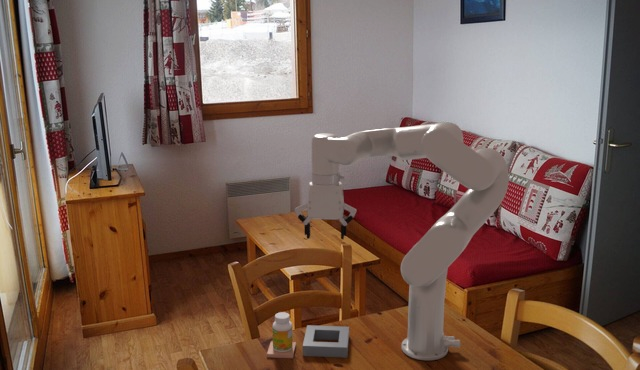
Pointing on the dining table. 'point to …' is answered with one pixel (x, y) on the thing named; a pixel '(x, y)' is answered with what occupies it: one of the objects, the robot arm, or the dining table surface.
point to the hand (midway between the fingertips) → (325, 237)
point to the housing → (326, 347)
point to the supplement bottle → (282, 332)
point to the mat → (276, 354)
